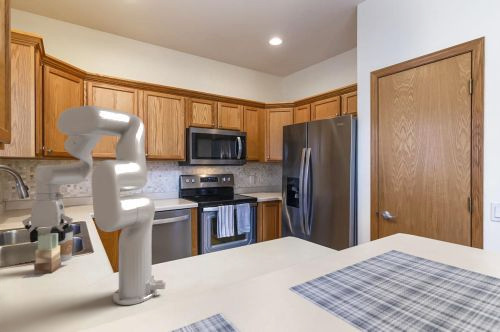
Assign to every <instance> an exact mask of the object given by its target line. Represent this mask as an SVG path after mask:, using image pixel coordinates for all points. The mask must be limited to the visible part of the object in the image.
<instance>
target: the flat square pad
mask: <svg viewBox="0 0 500 332" xmlns="http://www.w3.org/2000/svg"><path fill="white" fill-rule="evenodd" d="M66 266H67V264H61V268H64V267H66ZM61 268H60V269H61ZM45 275H46V274H34V270H33V271H31V272H30V273H28V274H26V275H24V276H22V277H21V279H29V278H41V277H43V276H45Z"/></svg>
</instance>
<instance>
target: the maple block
mask: <svg viewBox="0 0 500 332" xmlns="http://www.w3.org/2000/svg"><path fill="white" fill-rule="evenodd" d="M59 258H60V245H58V246H56V247H54V248H52V249H46V250H38V248H37V249H35V263H36V264H37V263H52V262H54V261H55V260H57V259H59Z"/></svg>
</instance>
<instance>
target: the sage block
mask: <svg viewBox="0 0 500 332" xmlns="http://www.w3.org/2000/svg"><path fill="white" fill-rule="evenodd" d="M56 246H58V233H50V232H49V233H44V234H43V233H42V234H41V235H38V241H37V249H38V250H46V249H52V248H54V247H56Z"/></svg>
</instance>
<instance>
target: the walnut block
mask: <svg viewBox="0 0 500 332" xmlns="http://www.w3.org/2000/svg"><path fill="white" fill-rule="evenodd" d="M33 265H34V266H33V268H34V269H33V271H34V274H45V275H47V274H53V273H55V272H56V271H58V270H60V269H61V265H62V262H61V257H60V258H59V259H57V260H55V261H54V262H52V263H37V264H36V262H35V263H34V264H33Z"/></svg>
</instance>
